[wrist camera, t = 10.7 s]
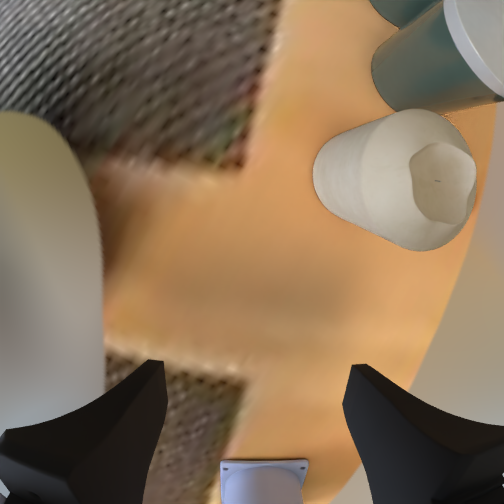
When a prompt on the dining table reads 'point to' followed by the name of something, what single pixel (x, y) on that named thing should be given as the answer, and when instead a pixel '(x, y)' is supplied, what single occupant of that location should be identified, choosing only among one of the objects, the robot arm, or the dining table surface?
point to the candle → (400, 178)
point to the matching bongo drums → (441, 54)
